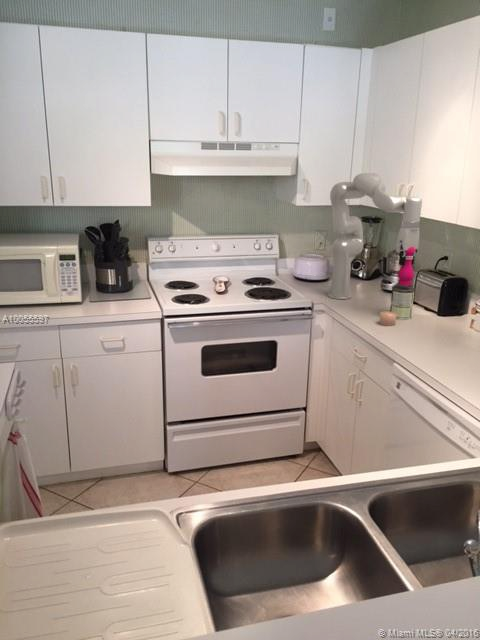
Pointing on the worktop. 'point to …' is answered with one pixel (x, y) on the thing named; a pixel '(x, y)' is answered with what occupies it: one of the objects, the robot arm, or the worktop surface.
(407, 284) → the pepper mill
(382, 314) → the pale pink round lump
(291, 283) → the worktop surface
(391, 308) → the green cylindrical container
